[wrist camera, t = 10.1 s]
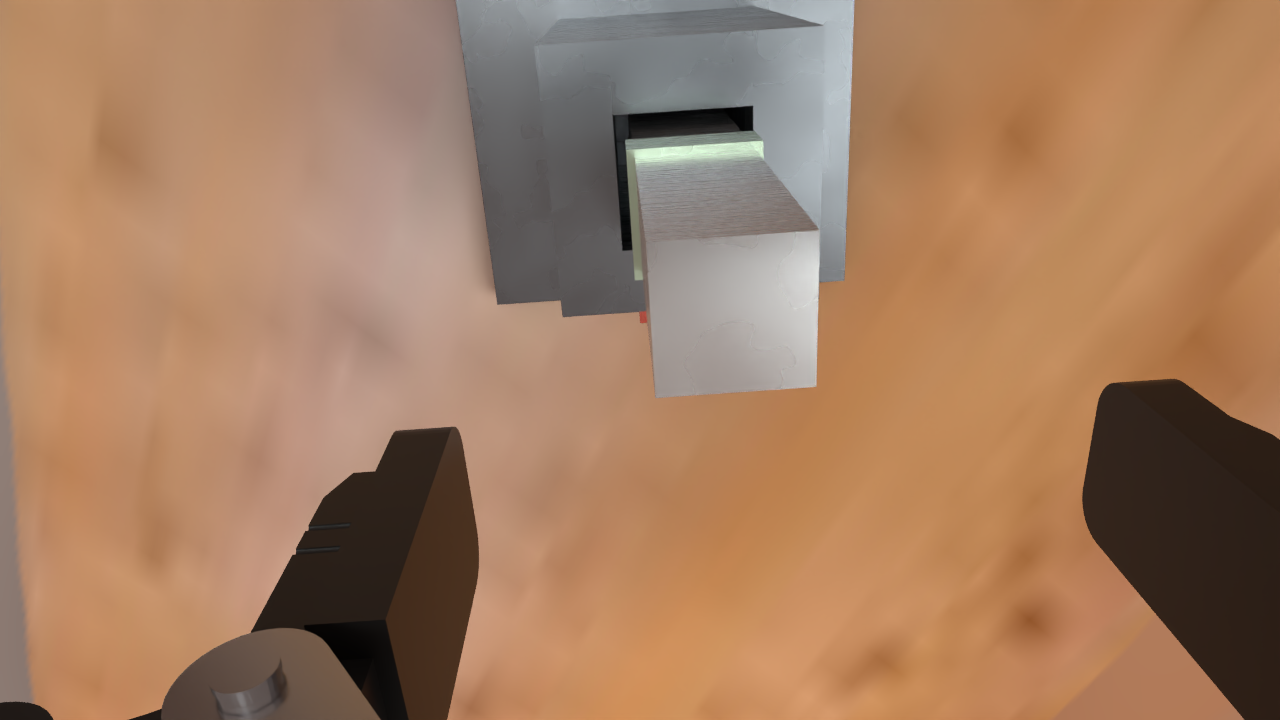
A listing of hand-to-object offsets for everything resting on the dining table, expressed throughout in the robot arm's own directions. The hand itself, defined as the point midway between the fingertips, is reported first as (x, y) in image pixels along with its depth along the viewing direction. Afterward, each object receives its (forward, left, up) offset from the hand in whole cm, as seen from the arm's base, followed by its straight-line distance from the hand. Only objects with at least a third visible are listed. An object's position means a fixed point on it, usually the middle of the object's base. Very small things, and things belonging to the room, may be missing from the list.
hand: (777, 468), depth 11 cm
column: (0, 0, -23) cm, 23 cm away
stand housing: (0, 0, -30) cm, 30 cm away
